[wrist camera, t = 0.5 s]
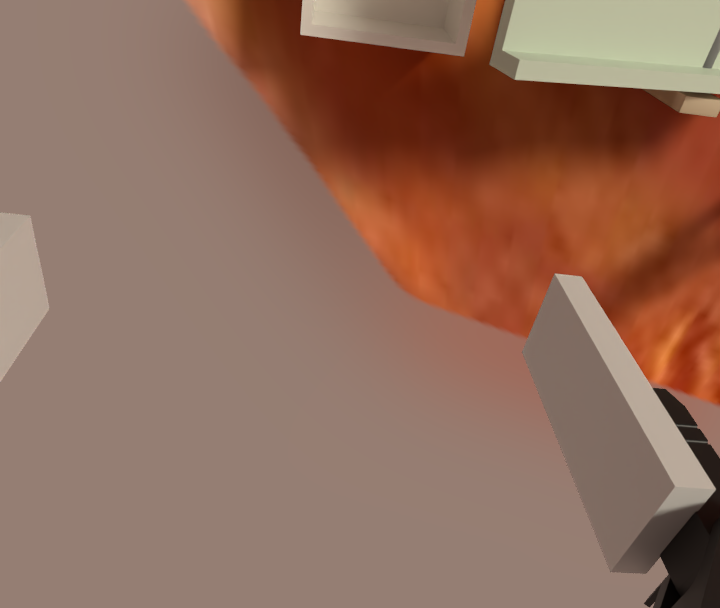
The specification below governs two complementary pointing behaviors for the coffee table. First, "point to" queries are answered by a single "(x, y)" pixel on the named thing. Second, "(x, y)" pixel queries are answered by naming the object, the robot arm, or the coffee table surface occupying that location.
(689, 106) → the stand
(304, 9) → the dish
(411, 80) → the coffee table surface
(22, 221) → the robot arm
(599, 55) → the lever
